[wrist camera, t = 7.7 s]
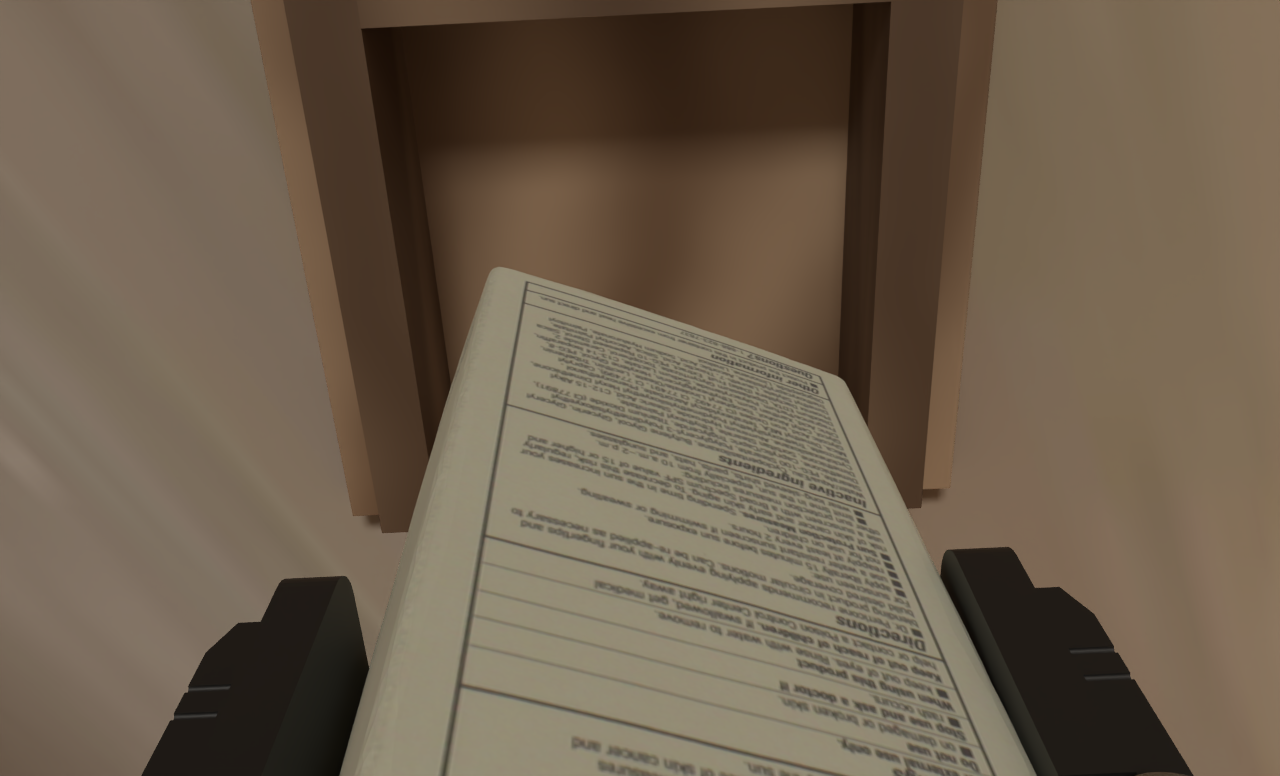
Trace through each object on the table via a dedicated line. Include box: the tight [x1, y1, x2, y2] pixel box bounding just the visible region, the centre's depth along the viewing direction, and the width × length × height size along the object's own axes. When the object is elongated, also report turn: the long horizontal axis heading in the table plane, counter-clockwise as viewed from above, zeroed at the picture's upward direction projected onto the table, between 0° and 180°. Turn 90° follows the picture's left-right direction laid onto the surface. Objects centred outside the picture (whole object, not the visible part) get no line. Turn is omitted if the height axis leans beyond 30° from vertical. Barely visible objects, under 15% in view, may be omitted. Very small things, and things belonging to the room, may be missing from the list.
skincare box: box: [339, 267, 1037, 776], centre depth 12 cm, size 6×4×12 cm
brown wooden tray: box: [251, 0, 997, 533], centre depth 27 cm, size 18×18×5 cm
